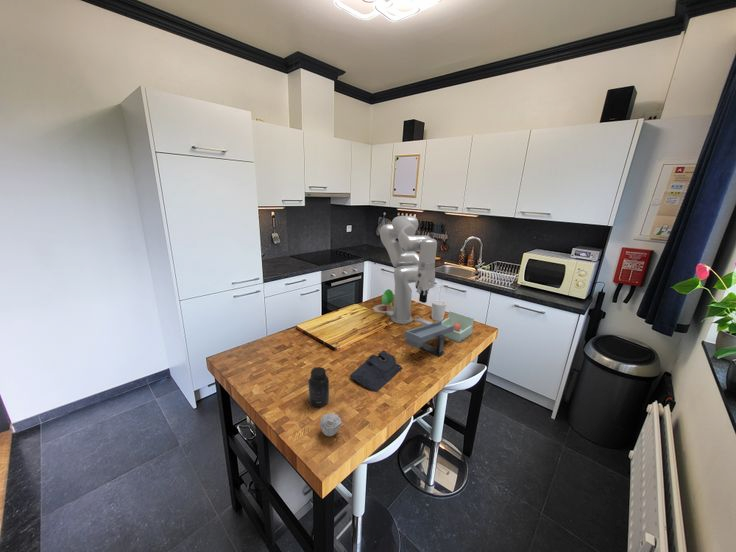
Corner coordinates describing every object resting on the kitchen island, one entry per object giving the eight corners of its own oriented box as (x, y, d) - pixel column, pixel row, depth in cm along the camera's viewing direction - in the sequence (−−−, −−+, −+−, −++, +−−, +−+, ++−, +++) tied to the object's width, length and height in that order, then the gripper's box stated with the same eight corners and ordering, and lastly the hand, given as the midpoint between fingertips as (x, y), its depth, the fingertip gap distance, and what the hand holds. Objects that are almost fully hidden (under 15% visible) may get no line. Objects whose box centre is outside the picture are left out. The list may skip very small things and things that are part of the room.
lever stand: (414, 346, 136) (415, 328, 134) (420, 342, 140) (421, 325, 137) (438, 357, 127) (440, 338, 125) (444, 353, 131) (446, 335, 128)
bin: (435, 333, 149) (436, 317, 147) (448, 325, 159) (449, 310, 156) (459, 343, 140) (461, 326, 138) (471, 334, 150) (473, 318, 147)
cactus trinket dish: (386, 283, 186) (401, 289, 175) (385, 303, 190) (400, 309, 179) (368, 287, 177) (382, 293, 166) (367, 307, 181) (381, 315, 170)
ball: (452, 327, 149) (456, 320, 150) (450, 329, 152) (454, 323, 154) (459, 331, 148) (462, 325, 149) (457, 333, 151) (460, 327, 153)
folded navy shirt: (343, 379, 111) (343, 368, 110) (375, 355, 129) (375, 345, 127) (376, 395, 103) (376, 384, 102) (405, 367, 120) (406, 357, 119)
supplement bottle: (310, 394, 102) (309, 365, 98) (329, 394, 102) (329, 364, 99) (307, 408, 95) (306, 377, 92) (328, 407, 96) (328, 376, 92)
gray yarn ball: (331, 447, 81) (330, 426, 79) (315, 433, 85) (314, 414, 84) (346, 434, 86) (346, 414, 84) (330, 422, 90) (330, 403, 88)
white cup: (443, 316, 171) (445, 300, 168) (445, 321, 163) (447, 305, 160) (429, 315, 171) (431, 299, 169) (431, 321, 164) (432, 304, 161)
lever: (389, 336, 129) (390, 324, 128) (425, 325, 150) (427, 315, 150) (418, 349, 118) (420, 337, 117) (452, 335, 140) (454, 325, 139)
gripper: (424, 270, 126) (420, 308, 131) (441, 264, 136) (437, 300, 142) (410, 266, 131) (407, 303, 136) (428, 261, 141) (424, 295, 147)
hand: (422, 301), depth 139 cm, fingers closed
